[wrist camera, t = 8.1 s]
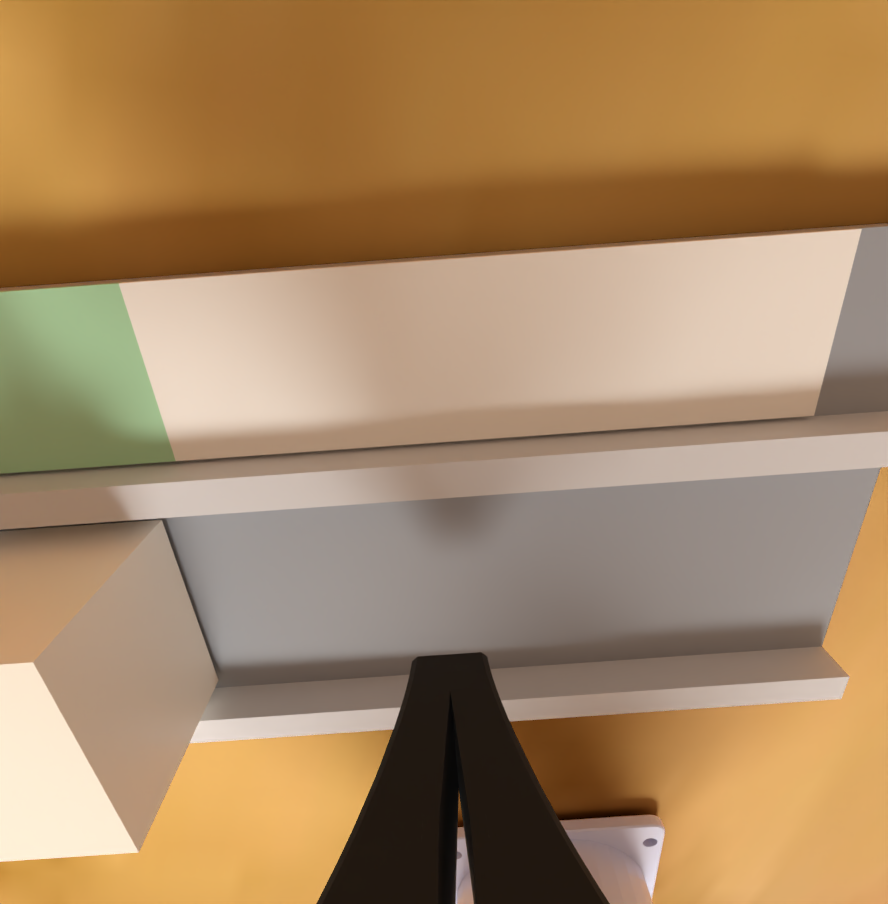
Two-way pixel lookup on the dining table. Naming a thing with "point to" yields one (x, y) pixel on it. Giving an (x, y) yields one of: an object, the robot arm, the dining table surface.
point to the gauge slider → (93, 686)
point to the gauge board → (476, 465)
